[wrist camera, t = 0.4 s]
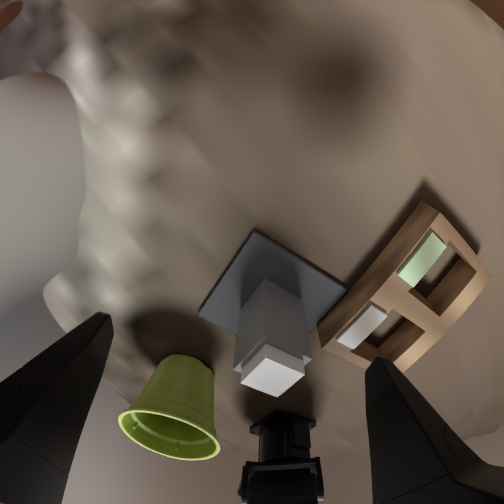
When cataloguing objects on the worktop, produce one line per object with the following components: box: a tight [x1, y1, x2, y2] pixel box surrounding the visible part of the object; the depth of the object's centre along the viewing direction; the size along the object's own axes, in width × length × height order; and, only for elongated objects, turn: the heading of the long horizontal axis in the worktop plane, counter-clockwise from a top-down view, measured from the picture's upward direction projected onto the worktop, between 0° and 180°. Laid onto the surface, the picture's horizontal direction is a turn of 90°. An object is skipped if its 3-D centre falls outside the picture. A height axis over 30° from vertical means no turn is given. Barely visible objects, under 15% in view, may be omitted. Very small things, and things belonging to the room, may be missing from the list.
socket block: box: [317, 201, 492, 373], centre depth 21 cm, size 14×10×3 cm
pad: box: [198, 230, 347, 335], centre depth 23 cm, size 9×9×1 cm
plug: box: [233, 278, 312, 397], centre depth 20 cm, size 4×4×8 cm
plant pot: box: [118, 355, 220, 460], centre depth 24 cm, size 9×9×9 cm
